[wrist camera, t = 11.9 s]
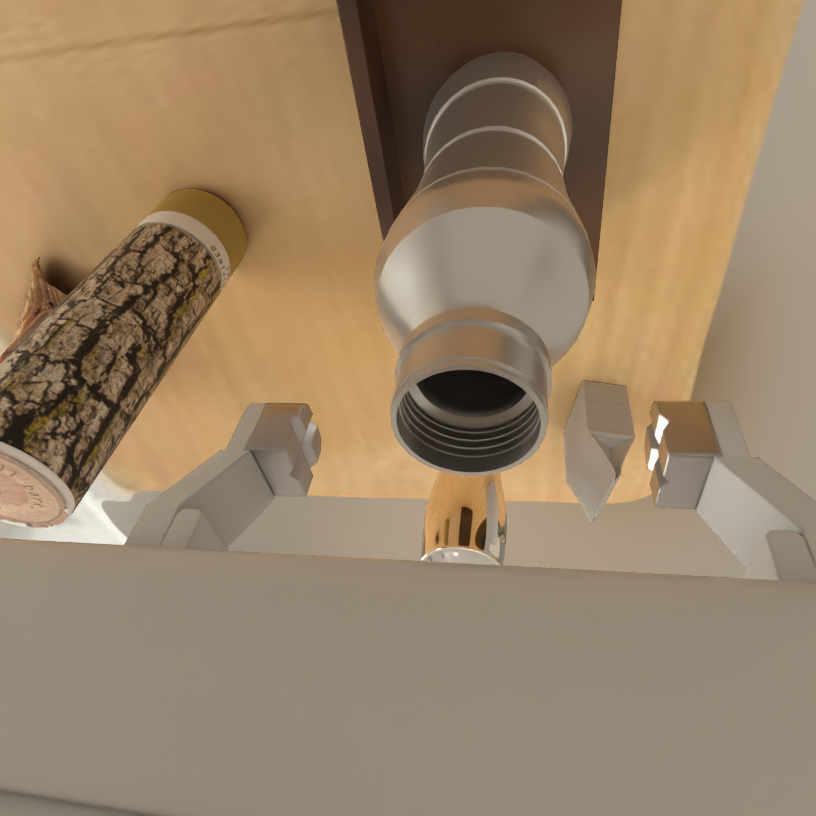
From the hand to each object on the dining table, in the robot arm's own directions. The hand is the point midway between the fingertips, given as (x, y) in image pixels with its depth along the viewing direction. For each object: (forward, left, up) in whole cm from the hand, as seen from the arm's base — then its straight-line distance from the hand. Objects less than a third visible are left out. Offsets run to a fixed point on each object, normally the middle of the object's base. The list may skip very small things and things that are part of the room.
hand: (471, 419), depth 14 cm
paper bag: (+28, +7, -29) cm, 41 cm away
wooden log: (+8, -23, -29) cm, 37 cm away
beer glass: (+31, -4, -29) cm, 42 cm away
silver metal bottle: (0, 0, -20) cm, 20 cm away
